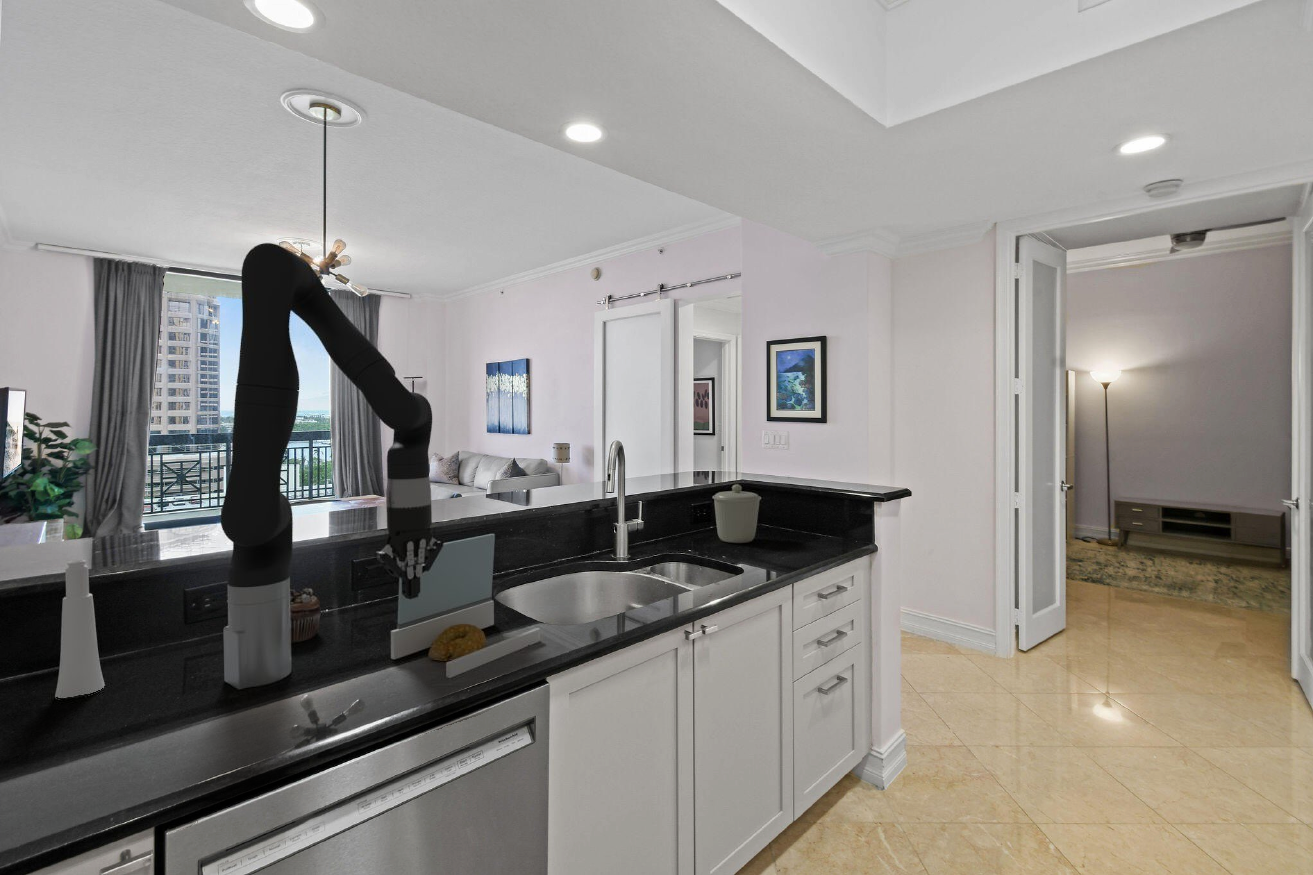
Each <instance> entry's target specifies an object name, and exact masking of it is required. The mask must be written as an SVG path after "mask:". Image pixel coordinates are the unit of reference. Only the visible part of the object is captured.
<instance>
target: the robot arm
mask: <svg viewBox="0 0 1313 875" xmlns="http://www.w3.org/2000/svg"><path fill="white" fill-rule="evenodd" d="M241 303H242V304H241V305H242V307H241V308H242V309H241V310H242V316H241V317H242V321H241V322H242V326H241V336H240V337H241V338H240V347H239V357H238V358H239V360H238V372H237V377H236V378H237V379H236V385H235V386H236V387H235V395H234V409H233V410H234V411H233V413H234V415H233V426H232V427H233V428H232V443H231V444H232V454H231V455H232V456H231V466H230V472H229V475H228V476H229V477H228V480H227V486H226V491H225V495H224V499H223V504H222V509H221V513H220V525H221V528H222V530H223V533H224V535H225V536H226V537H227V538H228V540H230V541H231V542H232V543H233V544H232V556H231V560H230V563H229V565H228V568H227V570H226V571H227V574H226V575H227V576H226V579H227V580H226V581H227V622H228V623H227V626H224V627H223V665H224V666H223V668H224V669H223V671H224V673H223V674H224V676H223V677H224V682H226V683H228V684H229V685H231V686H232V687H234V688H235V689H237V690H243V689H246V688H252V687H260V686H265V685H269V684H272V683H275V682H278V681H281V680H283V679H284V678H286V677H287V676H289V675H290V674H291V672H292V660H293V659H292V643H291V621H290V589H291V563H292V558H293V542H294V541H293V538H294V537H293V531H294V529H293V528H294V522H293V509H292V505H291V502H290V501H289V499H288V497H287V496H286V495H285V494H283V493H282V492H281V480H282V479H281V478H282V477H281V475H282V466H283V461H284V456H285V454H286V452H287V449H288V445H289V443H290V439H291V437H292V433H293V430H294V427H295V423H296V420H297V419H296V418H297V415H298V414H297V413H298V408H299V406H298V405H299V396H300V374H299V369H298V364H297V363H298V362H297V360H296V357H295V356H296V355H295V353H294V349H293V344H292V341H291V340H292V339H291V334H290V321H291V320H290V319H291V312H293V314H294V315H295V316H297V317H298V318H300V319H301V321H303V322H304V323H305V324H306V325H307V326H308V327H309V328H310V329H311V330H312V332H313V333H314V334H315V335H316V337H317V338H318V339H319V341H320V343H321V344H322V346H323V347H324V350H325V352H327V354H328V356H329V358H330V359H331V360H332V361H333V363H334V364H335V365H336V367H337V368H338V369H339V370H340V371H341V372H342V373H343V374H344V375H345V376H346V378H347V379H348V380H349V381H351V383H352V384H353V385H354V386H355V388H357V389H358V390H359V391H360V392H361V393H362V395H363V397H364V399H365V400H366V402H367V403H368V405H369V406H370V407H371V409H372V411H373V413H374V414H375V415H376V417H378V419H379V420H380V421H381V422H383V424H384V425H385V426H386V427H388V428H390V429H391V430H393V440H392V445H391V446H390V447H389V448H388V451H387V453H386V473H387V474H386V476H387V478H386V481H387V482H386V489H385V491H386V493H385V496H386V498H385V502H386V503H385V504H386V507H385V508H386V529H387V531H388V534H387V538H386V541H385V544H386V545H385V546H384V547H383V548H382V549H381V550H380V551H379V550H378V551H376V552H375V553H374V558H375V559H376V560H377V561H378V562H379V564H381V566H382V567H383V568H384V569H385V570H386V571H387V572H388V573H389V574H390V576H393V577H397V578H399V577H400V578H401V580H402V594H403V596H404V597H405V598H407V599H413V598H416V597H418V594H419V593H420V576H421V575H422V573H424V572H425V571H429V570H430V568H431V567H432V565H433V563H434V561H435V560H436V558H437V556H438V554H439V552H440V551H441V549H442V547H443V543H444V542H443V541H439V540H437V539H436V538H434V537H433V536H434V535H433V532H432V530H431V527H432V525H433V515H432V514H433V512H432V487H431V481H430V462H429V461H430V458H429V449H430V448H429V447H430V445H431V444H430V443H431V436H432V429H433V427H432V426H433V411H432V406H431V404H430V402H429V400H428V399H427V398H426V397H425V396H424V395H423V394H420V393H418V392H412V391H409V390H408V388H406V386H405V385H404V384H403V383H402V382H401V381H400V380H399V378H398V377H397V376H396V370H395V368H394V367H393V365H392V364H391V363H390V362H389V361H388V359H387V358H385V356H384V355H383V354H382V353H381V352H380V350H378V348H376V346H374V344H373V343H372V342H371V341H370V340H369V339H368V337H366V336H365V335H364V334H363V333H362V332H361V331H360V330H359V328H357V326H355V324H354V323H353V322H352V321H351V320H350V319H349V317H347V315H346V314H345V313H344V312H343V311H342V309H341V308H340V306H339V305H338V304H337V303H336V301H335V300H334V299H333V297H332V296H331V294H330V293H329V291H328V290H327V288H326V286H325V285H324V284H323V282H322V280H321V279H320V278H319V276H318V274H317V273H316V271H315V270H314V268H313V267H312V266H311V264H310V263H309V262H308V261H307V260H306V259H305V258H303V257H302V256H300V255H298V254H297V253H295V252H293V251H291V250H290V249H288V248H285V247H284V246H282V245H280V244H276V243H273V242H263V243H259V244H258V245H255V246H254V247H252V248H251V249H250V250H249V251H248V252H247V254H246V255H245V258H244V259H243V262H242V266H241ZM394 556H395V558H396V561H395V560H394V559H393V558H394Z"/></svg>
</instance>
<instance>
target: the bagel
mask: <svg viewBox="0 0 1313 875" xmlns="http://www.w3.org/2000/svg"><path fill="white" fill-rule="evenodd" d="M486 643H487V639H486V635H485V632H484V631H483V630H482V629H479V628H478V627H476V626H474V625H470V624H458V625H453V626H450V627H448V628H447V629H445V630H444V631H443V632H442V633H441V634H440V635H439V636H438V638H437V639H436V640H434V642H433V644H432V645H431V647H429V651H428V657H429V659H430V660H432V661H441V662H449V660H450V661H452V660H455V659H457V658H460V657H463V656H465V655H468V654H470V653H473V652H476V651H478V650H481V649H483V648H486Z"/></svg>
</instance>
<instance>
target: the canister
mask: <svg viewBox="0 0 1313 875" xmlns="http://www.w3.org/2000/svg"><path fill="white" fill-rule="evenodd" d="M731 489H732V490H730V491H729V490H728V491H727V490H726V491H719V492H717V493H715V494H714V495H712V499H713V500H714V511H715V512H714V513H715V522H716V530H717V535H718V538H719V539H720V540H721V541H722V542H725V543H730V544H745V543H746V544H747V543H750V542H752V541H753V540H754V538H755V537H756V532H757V525H758V524H757V523H758V517H759V515H758V514H759V509H760V508H759V507H760V501H761V499H762V497H761V496H759V494H757V493H754V492H751V491H750V492H749V491H742V489H743V488H742V486H741V485H740V484H734V485H732V486H731Z"/></svg>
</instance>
